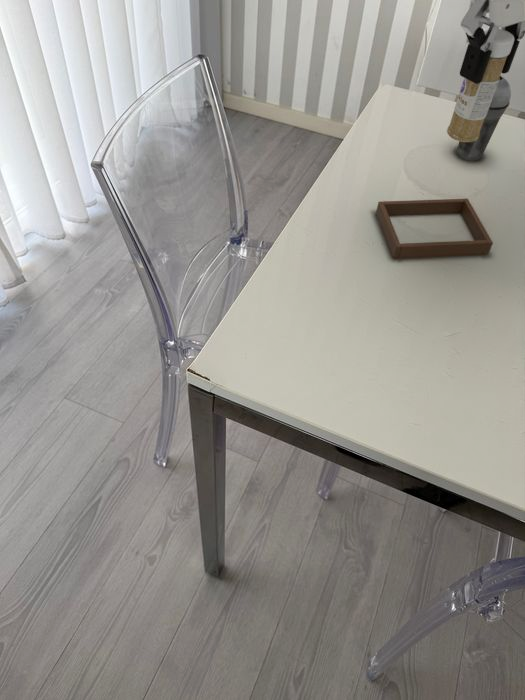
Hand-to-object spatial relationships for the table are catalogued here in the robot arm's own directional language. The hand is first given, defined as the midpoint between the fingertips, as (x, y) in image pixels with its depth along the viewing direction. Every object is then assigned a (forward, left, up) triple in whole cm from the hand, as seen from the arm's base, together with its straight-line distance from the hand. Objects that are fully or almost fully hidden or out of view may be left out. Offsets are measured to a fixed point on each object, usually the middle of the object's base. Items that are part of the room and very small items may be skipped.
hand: (484, 72), depth 73 cm
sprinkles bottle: (0, 0, -9) cm, 9 cm away
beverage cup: (-15, -23, -27) cm, 38 cm away
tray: (0, 0, -27) cm, 27 cm away
